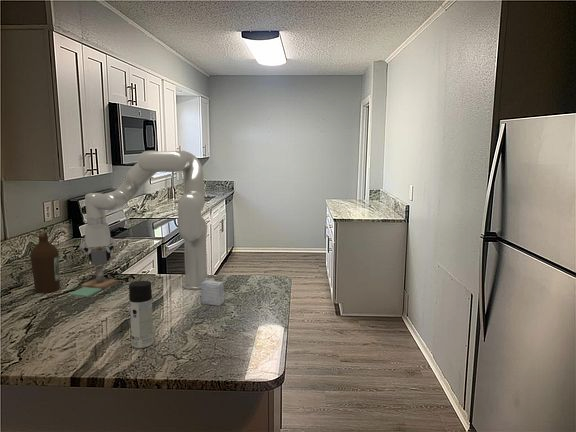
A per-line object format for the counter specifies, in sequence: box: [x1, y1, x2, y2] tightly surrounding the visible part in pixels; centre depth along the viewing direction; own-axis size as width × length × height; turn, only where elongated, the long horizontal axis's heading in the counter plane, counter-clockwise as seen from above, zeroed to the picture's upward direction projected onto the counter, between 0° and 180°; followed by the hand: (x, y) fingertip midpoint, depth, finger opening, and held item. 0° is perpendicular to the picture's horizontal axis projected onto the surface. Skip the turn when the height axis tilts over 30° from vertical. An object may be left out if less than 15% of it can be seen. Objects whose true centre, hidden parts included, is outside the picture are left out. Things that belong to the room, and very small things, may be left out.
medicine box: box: [200, 280, 225, 307], centre depth 173 cm, size 8×4×9 cm, turn 71°
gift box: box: [91, 247, 109, 266], centre depth 193 cm, size 6×6×7 cm
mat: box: [68, 287, 103, 298], centre depth 185 cm, size 9×9×1 cm
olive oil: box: [30, 231, 61, 294], centre depth 186 cm, size 11×11×25 cm
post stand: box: [80, 265, 120, 290], centre depth 195 cm, size 12×10×8 cm
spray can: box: [128, 280, 154, 350], centre depth 136 cm, size 7×7×20 cm
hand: (100, 260), depth 194 cm, fingers closed on gift box, 6 cm apart
